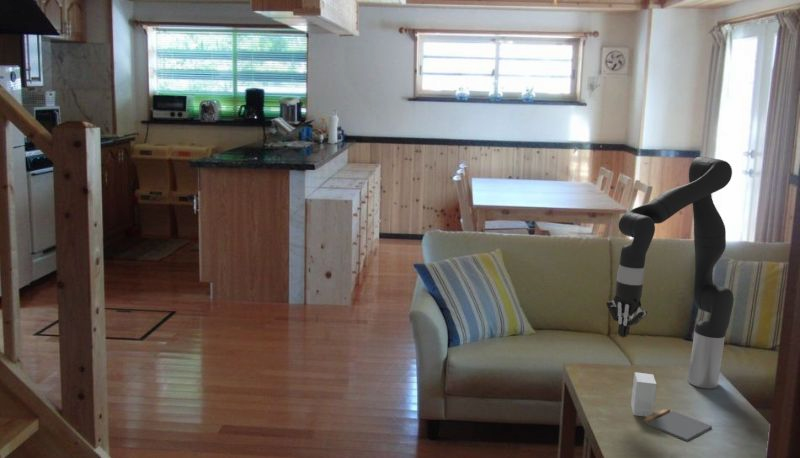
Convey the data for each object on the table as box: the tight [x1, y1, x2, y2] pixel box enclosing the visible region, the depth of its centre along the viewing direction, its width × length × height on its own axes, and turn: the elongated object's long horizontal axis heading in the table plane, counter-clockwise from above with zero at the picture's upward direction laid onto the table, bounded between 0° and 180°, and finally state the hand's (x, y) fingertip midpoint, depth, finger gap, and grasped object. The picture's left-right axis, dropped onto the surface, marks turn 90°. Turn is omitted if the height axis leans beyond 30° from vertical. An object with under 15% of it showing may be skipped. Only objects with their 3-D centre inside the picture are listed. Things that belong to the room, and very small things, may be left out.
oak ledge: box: [644, 407, 671, 424], centre depth 223 cm, size 12×1×1 cm, turn 132°
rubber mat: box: [647, 410, 713, 442], centre depth 218 cm, size 14×12×1 cm
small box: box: [630, 371, 658, 418], centre depth 225 cm, size 8×6×10 cm
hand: (622, 336), depth 229 cm, fingers closed
